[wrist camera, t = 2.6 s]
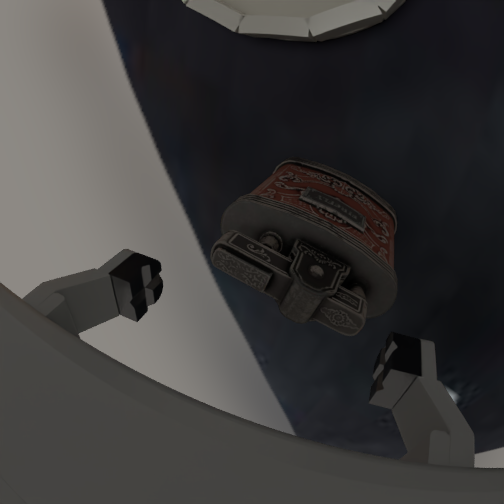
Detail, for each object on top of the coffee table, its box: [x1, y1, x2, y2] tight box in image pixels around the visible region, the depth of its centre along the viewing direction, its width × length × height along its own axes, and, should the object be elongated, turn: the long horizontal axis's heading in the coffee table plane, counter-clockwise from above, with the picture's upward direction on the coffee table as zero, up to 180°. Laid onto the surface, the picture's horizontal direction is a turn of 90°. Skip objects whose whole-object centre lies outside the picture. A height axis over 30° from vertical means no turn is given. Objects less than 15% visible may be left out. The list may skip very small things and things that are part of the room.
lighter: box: [210, 157, 397, 336], centre depth 15 cm, size 8×3×10 cm, turn 71°
